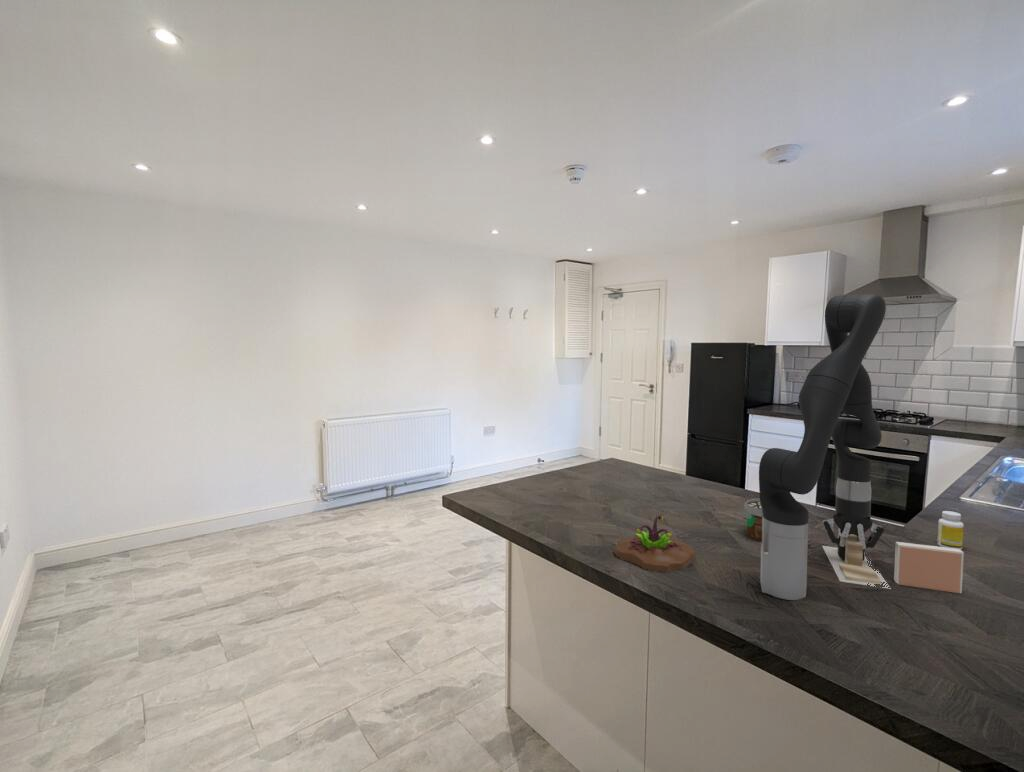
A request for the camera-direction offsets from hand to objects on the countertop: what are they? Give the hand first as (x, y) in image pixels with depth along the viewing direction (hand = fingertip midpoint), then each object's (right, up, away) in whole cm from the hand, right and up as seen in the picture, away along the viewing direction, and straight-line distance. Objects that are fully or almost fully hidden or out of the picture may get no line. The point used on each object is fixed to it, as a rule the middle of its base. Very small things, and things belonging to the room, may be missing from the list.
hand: (850, 559), depth 127 cm
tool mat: (-1, -1, -2) cm, 3 cm away
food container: (-15, 0, +20) cm, 25 cm away
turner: (-1, -1, -2) cm, 3 cm away
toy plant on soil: (-49, -2, +7) cm, 50 cm away
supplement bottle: (+35, 0, +9) cm, 36 cm away
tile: (+8, -2, -14) cm, 16 cm away
